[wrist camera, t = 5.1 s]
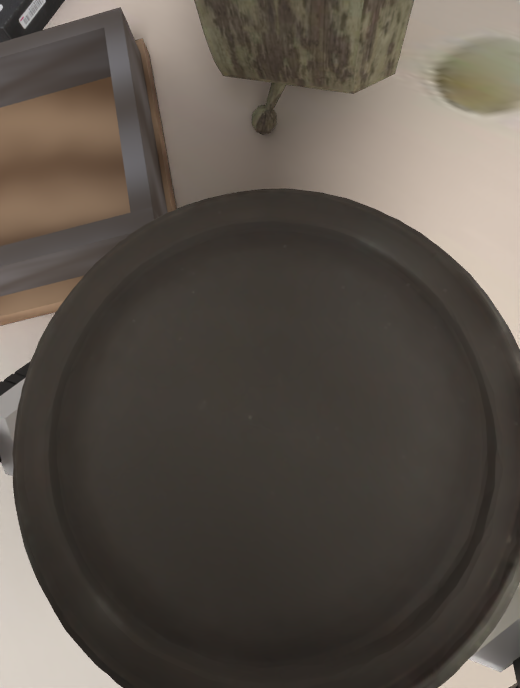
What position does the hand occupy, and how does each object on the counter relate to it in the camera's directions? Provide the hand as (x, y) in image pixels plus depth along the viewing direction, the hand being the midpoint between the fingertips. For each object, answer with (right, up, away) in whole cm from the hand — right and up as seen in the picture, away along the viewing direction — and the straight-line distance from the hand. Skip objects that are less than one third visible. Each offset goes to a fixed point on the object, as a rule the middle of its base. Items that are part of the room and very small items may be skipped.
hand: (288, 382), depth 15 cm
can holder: (-15, +12, +11) cm, 22 cm away
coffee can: (0, -3, +6) cm, 7 cm away
